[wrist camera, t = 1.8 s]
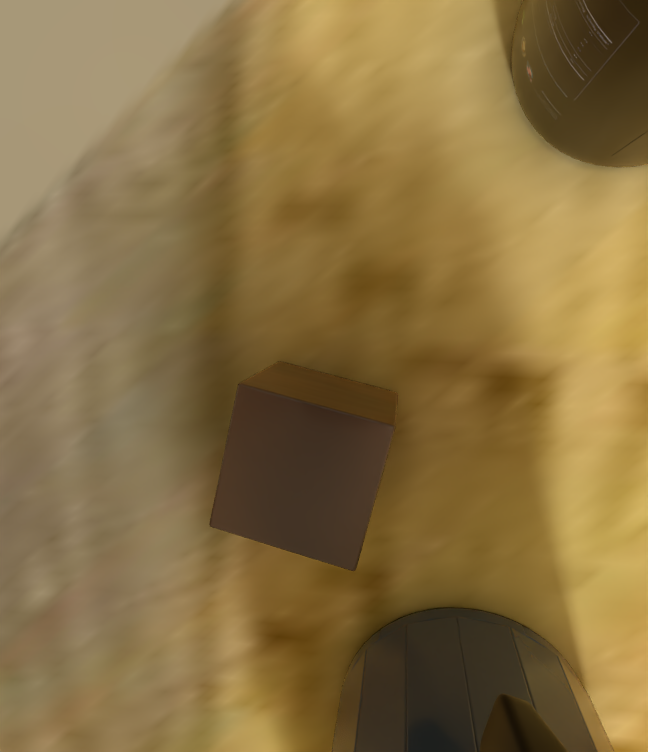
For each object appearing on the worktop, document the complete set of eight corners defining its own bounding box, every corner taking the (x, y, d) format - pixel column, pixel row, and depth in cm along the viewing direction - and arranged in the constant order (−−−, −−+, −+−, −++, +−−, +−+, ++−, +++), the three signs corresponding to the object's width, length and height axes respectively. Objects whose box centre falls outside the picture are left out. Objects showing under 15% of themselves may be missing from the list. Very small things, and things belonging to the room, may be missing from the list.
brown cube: (253, 472, 19) (207, 526, 14) (278, 360, 18) (237, 383, 13) (367, 506, 18) (354, 573, 14) (398, 392, 17) (396, 426, 13)
